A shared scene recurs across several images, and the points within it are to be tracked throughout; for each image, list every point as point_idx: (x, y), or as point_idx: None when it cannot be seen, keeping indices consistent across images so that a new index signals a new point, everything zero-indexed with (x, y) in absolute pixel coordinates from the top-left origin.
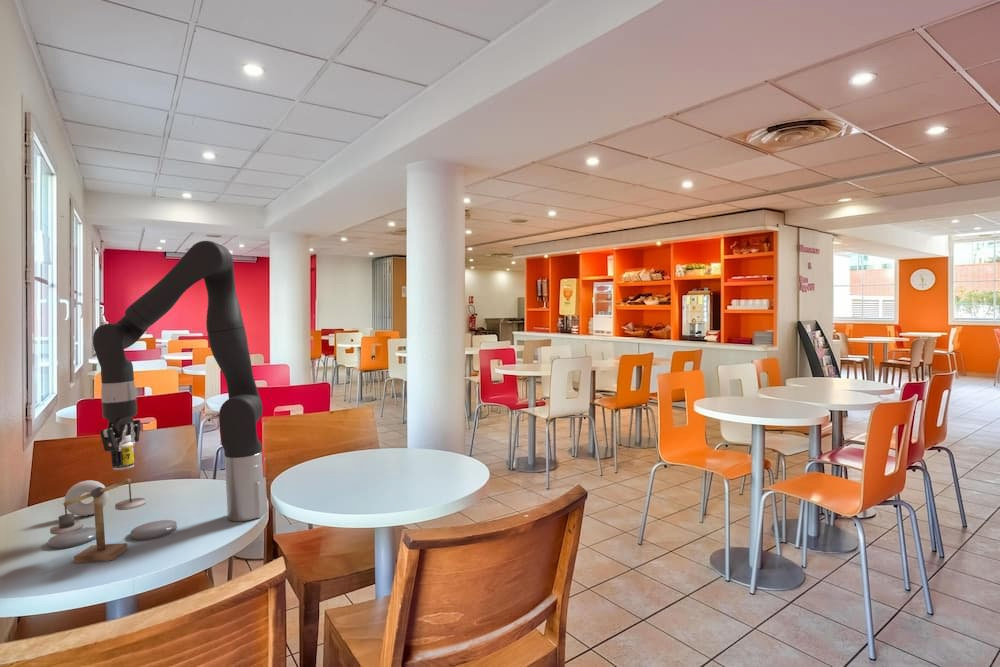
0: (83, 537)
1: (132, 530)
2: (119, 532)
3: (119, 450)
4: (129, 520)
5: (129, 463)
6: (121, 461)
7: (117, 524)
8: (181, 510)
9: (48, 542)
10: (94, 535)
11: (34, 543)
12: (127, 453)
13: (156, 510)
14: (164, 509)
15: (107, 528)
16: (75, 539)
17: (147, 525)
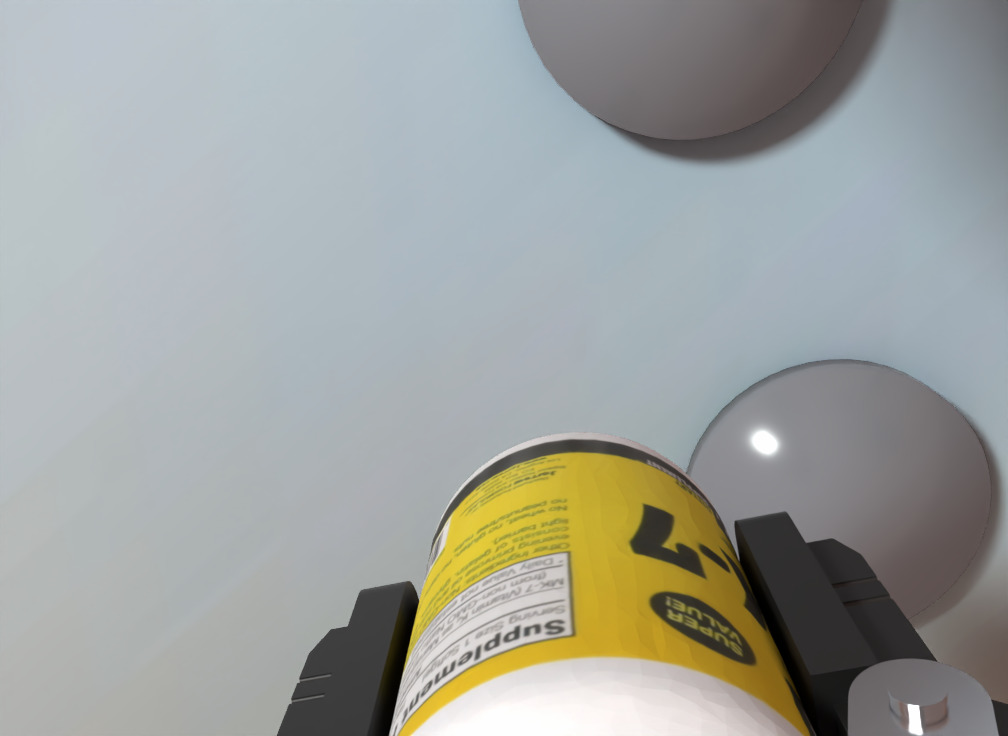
0: (881, 410)
1: (756, 113)
2: (688, 277)
3: (947, 672)
4: (451, 394)
5: (627, 465)
6: (785, 537)
7: (533, 423)
8: (193, 107)
9: (943, 589)
10: (827, 369)
11: None
12: (680, 577)
13: (228, 340)
14: (197, 287)
15: None
16: (915, 438)
17: (645, 64)
